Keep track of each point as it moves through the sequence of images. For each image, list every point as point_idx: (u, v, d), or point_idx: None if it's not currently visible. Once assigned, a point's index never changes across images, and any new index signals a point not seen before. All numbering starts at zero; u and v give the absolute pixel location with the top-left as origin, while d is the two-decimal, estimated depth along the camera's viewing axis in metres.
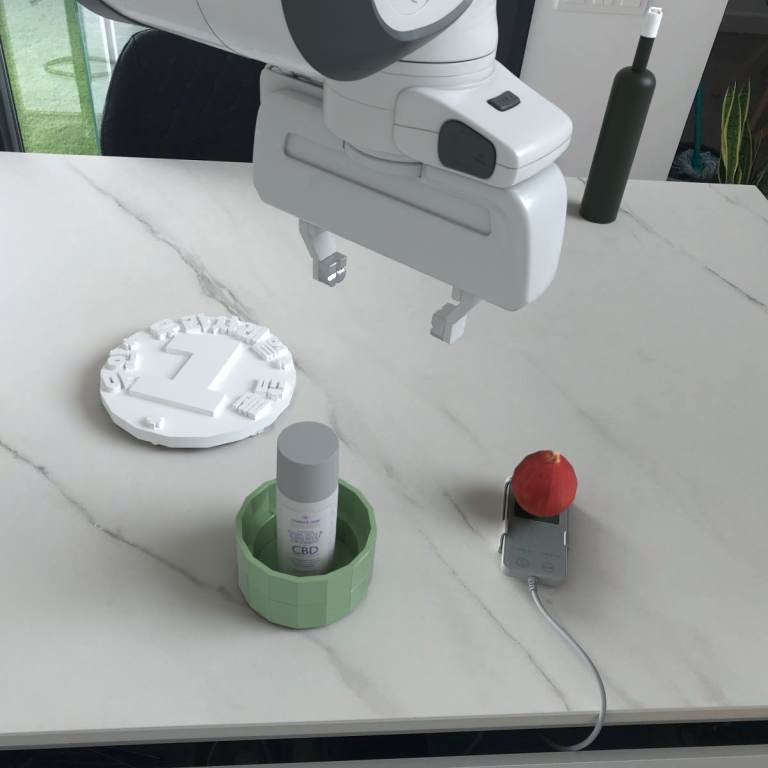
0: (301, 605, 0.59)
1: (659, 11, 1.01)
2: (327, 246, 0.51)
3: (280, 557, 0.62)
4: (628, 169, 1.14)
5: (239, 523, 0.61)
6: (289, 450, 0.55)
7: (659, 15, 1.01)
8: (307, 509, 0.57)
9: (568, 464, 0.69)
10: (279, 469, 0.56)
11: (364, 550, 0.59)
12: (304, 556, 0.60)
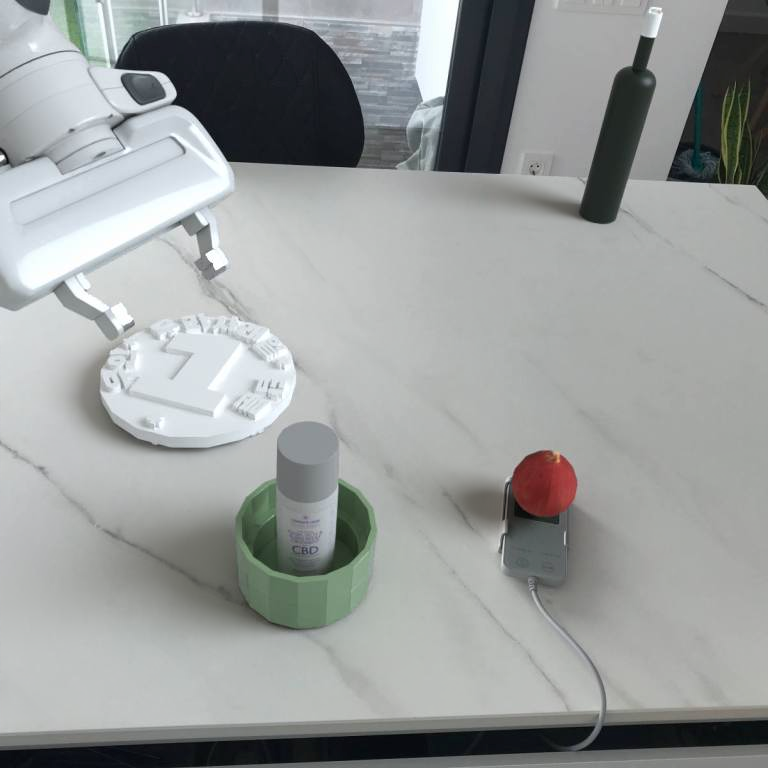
0: (301, 605, 0.59)
1: (659, 11, 1.01)
2: None
3: (280, 557, 0.62)
4: (628, 169, 1.14)
5: (239, 523, 0.61)
6: (289, 450, 0.55)
7: (659, 15, 1.01)
8: (307, 509, 0.57)
9: (568, 464, 0.69)
10: (279, 469, 0.56)
11: (364, 550, 0.59)
12: (304, 556, 0.60)
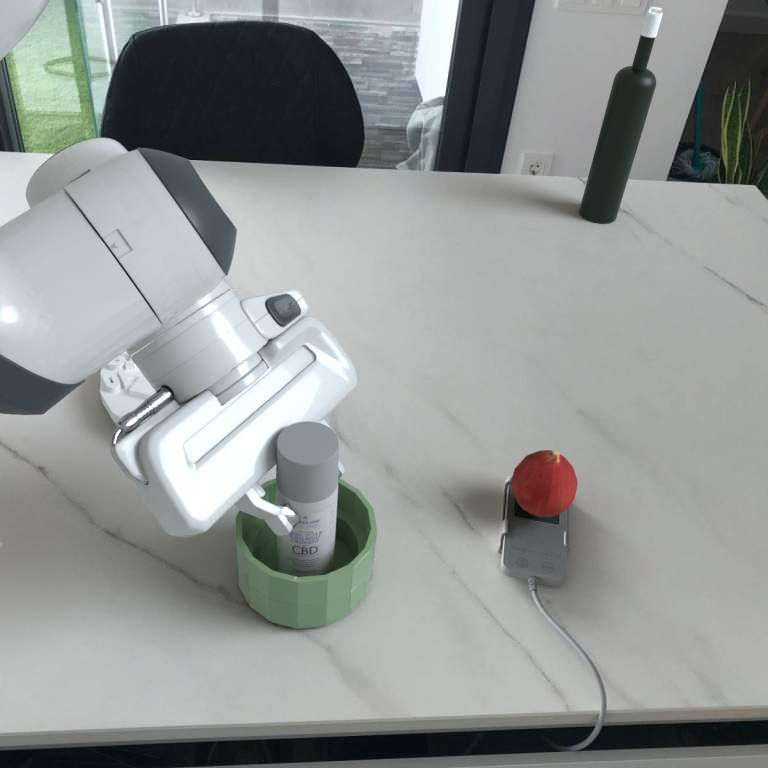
0: (301, 605, 0.59)
1: (659, 11, 1.01)
2: None
3: (280, 557, 0.62)
4: (628, 169, 1.14)
5: (239, 523, 0.61)
6: (289, 450, 0.55)
7: (659, 15, 1.01)
8: (307, 509, 0.57)
9: (568, 464, 0.69)
10: (279, 469, 0.56)
11: (364, 550, 0.59)
12: (304, 556, 0.60)
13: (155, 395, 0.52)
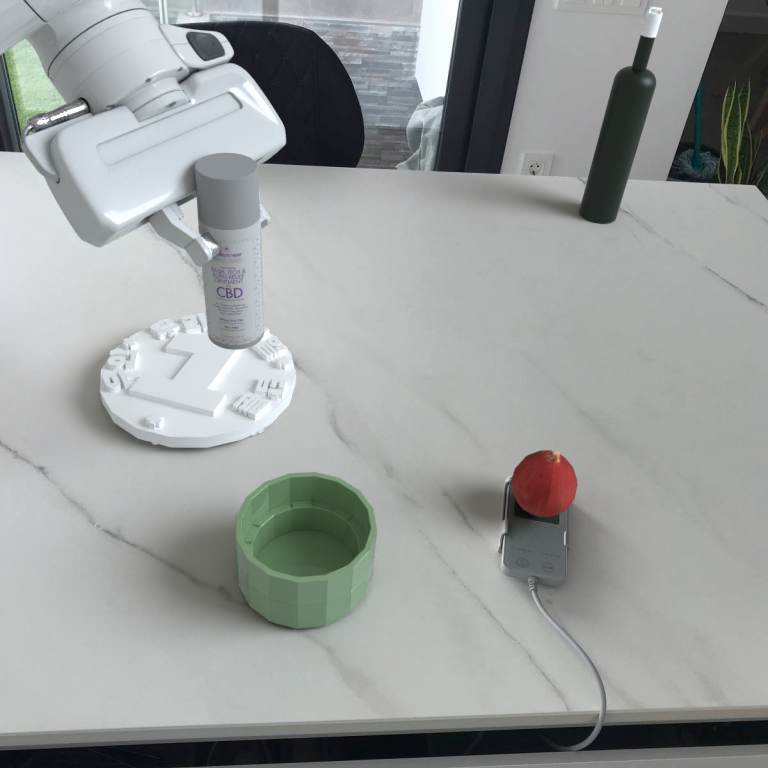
0: (301, 605, 0.59)
1: (659, 11, 1.01)
2: None
3: (207, 308, 0.62)
4: (628, 169, 1.14)
5: (239, 523, 0.61)
6: (206, 170, 0.55)
7: (659, 15, 1.01)
8: (227, 238, 0.57)
9: (568, 464, 0.69)
10: (198, 193, 0.56)
11: (364, 550, 0.59)
12: (229, 300, 0.60)
13: (70, 103, 0.53)
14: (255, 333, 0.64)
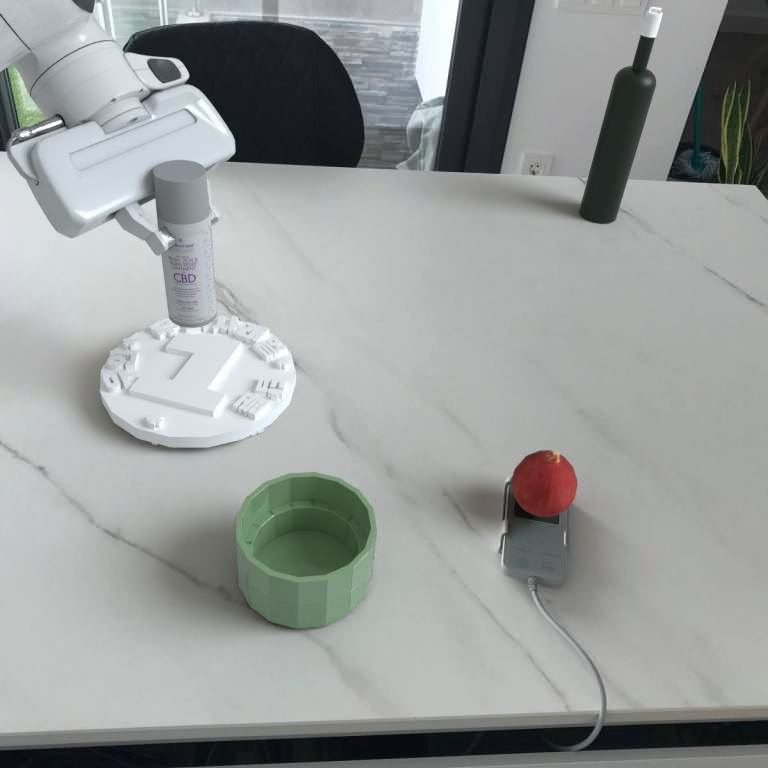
0: (301, 605, 0.59)
1: (659, 11, 1.01)
2: None
3: (167, 292, 0.73)
4: (628, 169, 1.14)
5: (239, 523, 0.61)
6: (162, 174, 0.66)
7: (659, 15, 1.01)
8: (181, 231, 0.68)
9: (568, 464, 0.69)
10: (156, 194, 0.67)
11: (364, 550, 0.59)
12: (184, 284, 0.71)
13: (48, 119, 0.64)
14: (208, 314, 0.74)
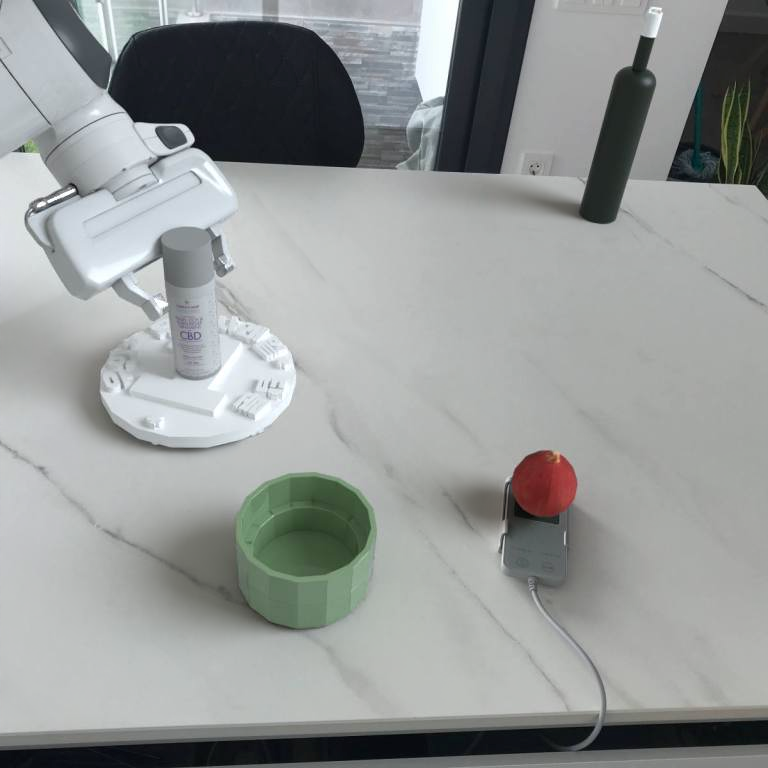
0: (301, 605, 0.59)
1: (659, 11, 1.01)
2: None
3: (173, 347, 0.77)
4: (628, 169, 1.14)
5: (239, 523, 0.61)
6: (169, 242, 0.70)
7: (659, 15, 1.01)
8: (187, 294, 0.72)
9: (568, 464, 0.69)
10: (163, 260, 0.71)
11: (364, 550, 0.59)
12: (190, 341, 0.75)
13: (62, 188, 0.68)
14: (213, 367, 0.79)
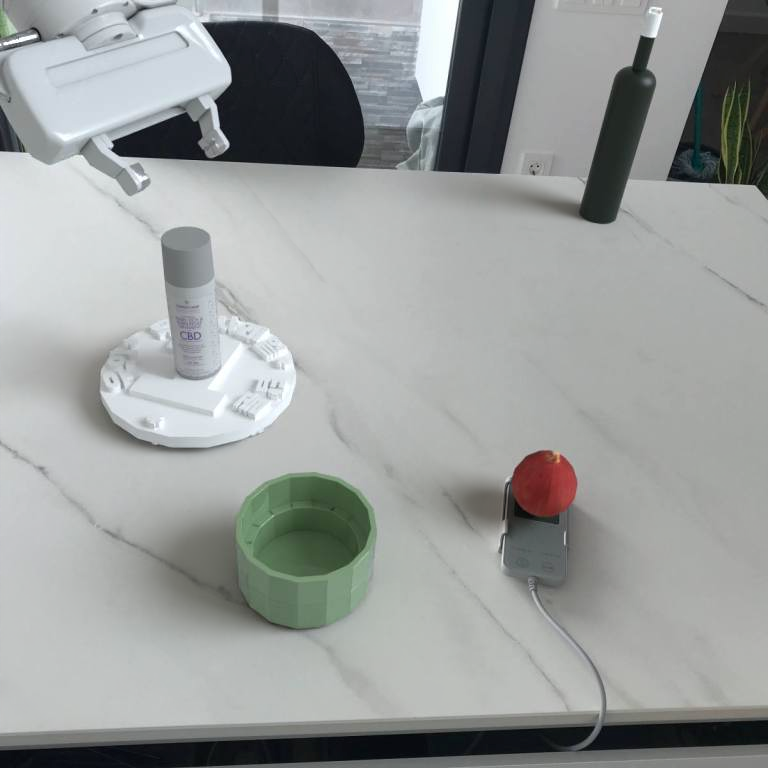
0: (301, 605, 0.59)
1: (659, 11, 1.01)
2: None
3: (173, 347, 0.77)
4: (628, 169, 1.14)
5: (239, 523, 0.61)
6: (169, 242, 0.70)
7: (659, 15, 1.01)
8: (187, 294, 0.72)
9: (568, 464, 0.69)
10: (163, 260, 0.71)
11: (364, 550, 0.59)
12: (190, 341, 0.75)
13: (22, 31, 0.57)
14: (213, 367, 0.79)
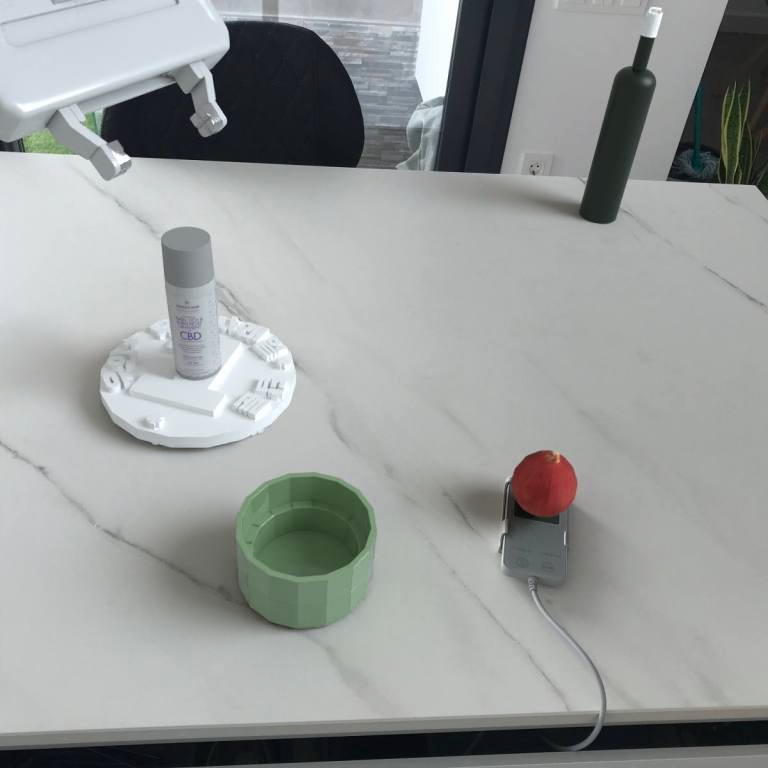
0: (301, 605, 0.59)
1: (659, 11, 1.01)
2: None
3: (173, 347, 0.77)
4: (628, 169, 1.14)
5: (239, 523, 0.61)
6: (169, 242, 0.70)
7: (659, 15, 1.01)
8: (187, 294, 0.72)
9: (568, 464, 0.69)
10: (163, 260, 0.71)
11: (364, 550, 0.59)
12: (190, 341, 0.75)
13: None
14: (213, 367, 0.79)
